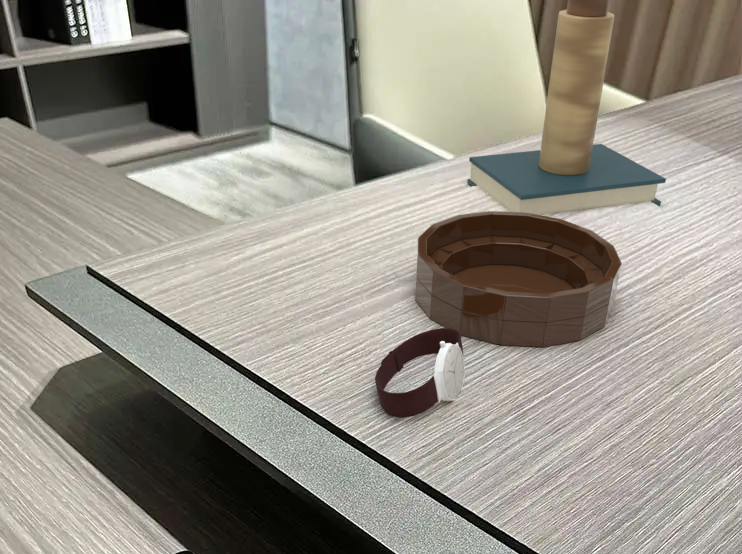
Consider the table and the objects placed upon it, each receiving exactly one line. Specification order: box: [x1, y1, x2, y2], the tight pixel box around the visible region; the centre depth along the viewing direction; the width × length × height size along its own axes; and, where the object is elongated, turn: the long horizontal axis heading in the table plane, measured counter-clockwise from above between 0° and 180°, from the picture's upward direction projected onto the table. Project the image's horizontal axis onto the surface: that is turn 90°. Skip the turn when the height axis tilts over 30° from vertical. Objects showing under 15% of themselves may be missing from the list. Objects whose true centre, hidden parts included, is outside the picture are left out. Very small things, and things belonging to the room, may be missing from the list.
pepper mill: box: [539, 0, 615, 175], centre depth 69 cm, size 4×4×15 cm
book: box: [466, 143, 667, 216], centre depth 73 cm, size 14×10×2 cm
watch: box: [374, 327, 466, 419], centre depth 46 cm, size 8×5×4 cm, turn 153°
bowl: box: [414, 210, 623, 348], centre depth 55 cm, size 13×13×4 cm
